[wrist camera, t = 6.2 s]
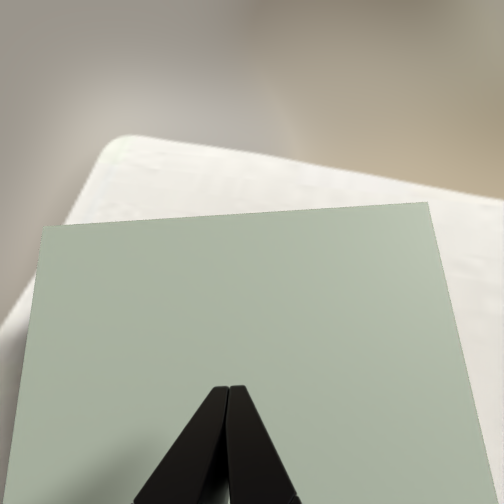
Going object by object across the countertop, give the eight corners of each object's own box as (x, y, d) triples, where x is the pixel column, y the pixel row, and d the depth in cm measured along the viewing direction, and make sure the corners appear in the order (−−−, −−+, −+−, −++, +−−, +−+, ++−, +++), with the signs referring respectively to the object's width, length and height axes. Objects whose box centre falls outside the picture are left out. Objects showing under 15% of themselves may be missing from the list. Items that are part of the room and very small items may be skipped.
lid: (494, 557, 12) (515, 574, 11) (10, 579, 12) (-12, 598, 11) (417, 211, 16) (427, 202, 15) (56, 234, 16) (43, 226, 15)
